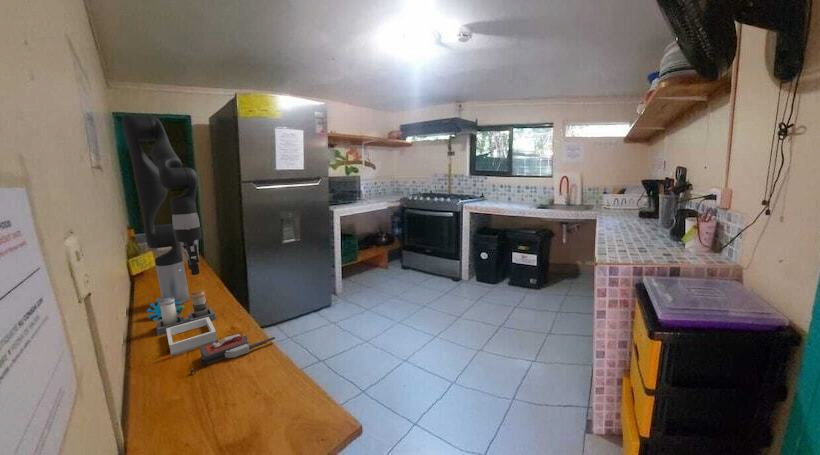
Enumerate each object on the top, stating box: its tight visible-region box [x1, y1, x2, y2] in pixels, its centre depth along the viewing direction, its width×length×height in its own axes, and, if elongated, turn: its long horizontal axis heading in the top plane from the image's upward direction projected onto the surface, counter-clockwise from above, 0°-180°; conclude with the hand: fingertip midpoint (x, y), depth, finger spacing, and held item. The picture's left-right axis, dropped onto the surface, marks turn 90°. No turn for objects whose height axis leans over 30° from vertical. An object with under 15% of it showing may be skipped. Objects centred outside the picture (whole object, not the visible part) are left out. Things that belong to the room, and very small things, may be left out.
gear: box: [146, 297, 185, 322], centre depth 120 cm, size 11×6×10 cm
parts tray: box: [166, 317, 219, 357], centre depth 103 cm, size 14×12×4 cm
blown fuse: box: [190, 290, 208, 318], centre depth 115 cm, size 4×4×10 cm
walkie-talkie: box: [199, 333, 276, 365], centre depth 96 cm, size 9×4×20 cm
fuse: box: [159, 298, 178, 327], centre depth 109 cm, size 4×4×10 cm
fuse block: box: [156, 307, 217, 337], centre depth 113 cm, size 17×9×3 cm, turn 130°
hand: (194, 271), depth 112 cm, fingers open, 8 cm apart
